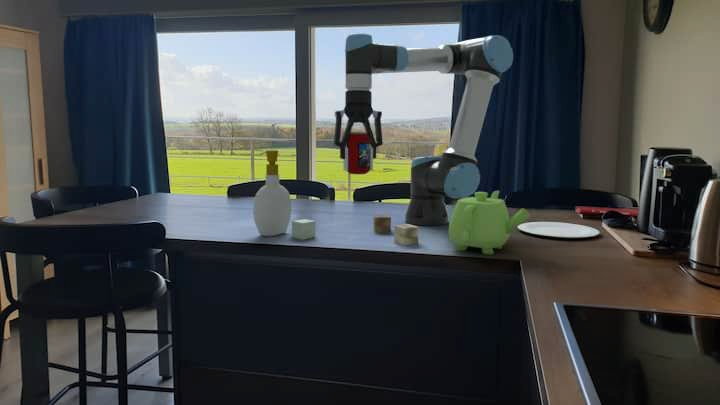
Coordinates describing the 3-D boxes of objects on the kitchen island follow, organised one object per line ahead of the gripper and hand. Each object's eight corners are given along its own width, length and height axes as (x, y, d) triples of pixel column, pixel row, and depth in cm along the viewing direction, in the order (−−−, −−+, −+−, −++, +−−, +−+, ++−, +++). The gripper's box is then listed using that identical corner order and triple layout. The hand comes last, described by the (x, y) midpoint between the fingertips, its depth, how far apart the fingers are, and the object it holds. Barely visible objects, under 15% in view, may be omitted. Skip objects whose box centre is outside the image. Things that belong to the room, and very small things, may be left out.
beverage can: (367, 175, 153) (367, 132, 151) (344, 174, 155) (344, 132, 153) (371, 172, 160) (371, 132, 158) (349, 172, 161) (349, 132, 159)
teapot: (516, 263, 134) (519, 200, 132) (436, 252, 145) (438, 194, 143) (540, 245, 155) (544, 190, 153) (469, 236, 166) (471, 185, 164)
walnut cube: (388, 229, 176) (388, 214, 175) (390, 232, 171) (390, 217, 170) (373, 229, 175) (373, 214, 175) (375, 232, 171) (375, 217, 170)
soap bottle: (277, 228, 175) (276, 148, 171) (298, 232, 170) (297, 149, 166) (244, 236, 163) (243, 150, 159) (266, 240, 158) (264, 151, 154)
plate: (600, 230, 179) (600, 225, 179) (598, 245, 157) (599, 239, 157) (523, 224, 190) (523, 219, 189) (511, 237, 167) (511, 231, 167)
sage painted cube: (305, 234, 166) (305, 219, 166) (315, 237, 163) (315, 221, 162) (292, 237, 163) (292, 220, 162) (302, 239, 160) (302, 223, 159)
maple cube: (408, 240, 160) (408, 224, 159) (418, 243, 156) (418, 226, 155) (394, 242, 157) (394, 225, 157) (403, 245, 153) (404, 228, 152)
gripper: (387, 91, 160) (386, 168, 163) (322, 90, 155) (322, 169, 158) (395, 90, 152) (394, 170, 156) (327, 88, 148) (327, 171, 151)
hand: (358, 170), depth 157 cm, fingers closed on beverage can, 7 cm apart
